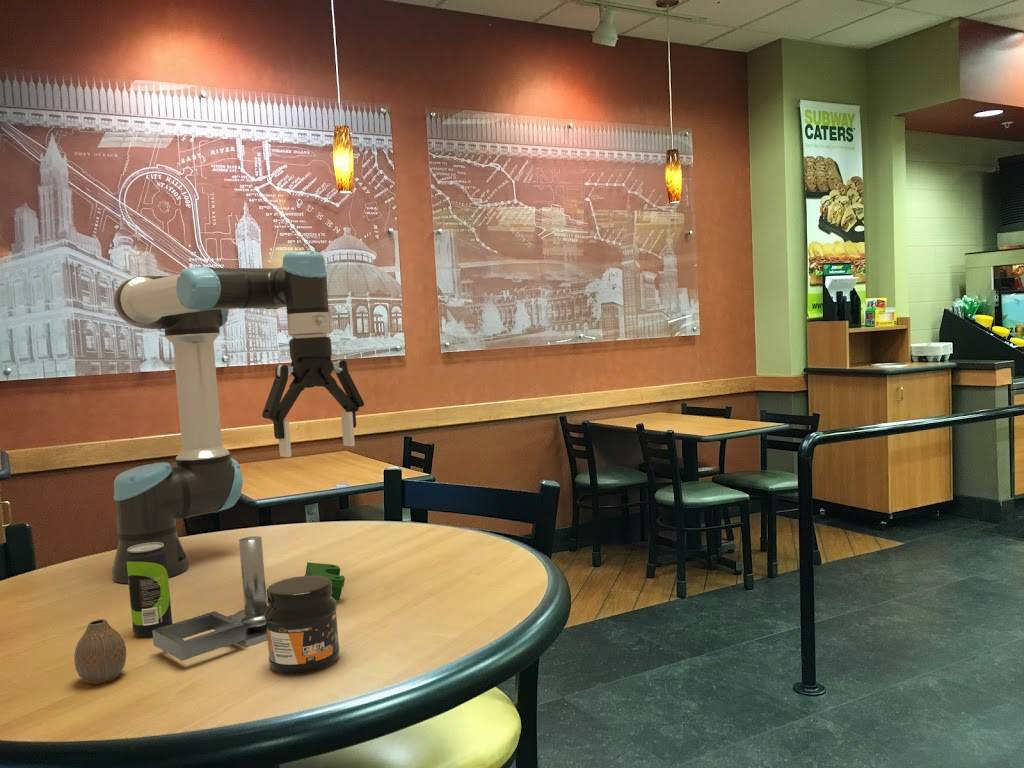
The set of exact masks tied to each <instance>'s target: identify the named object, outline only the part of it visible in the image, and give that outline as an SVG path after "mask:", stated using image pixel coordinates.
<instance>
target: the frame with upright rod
mask: <svg viewBox="0 0 1024 768" xmlns="http://www.w3.org/2000/svg"><path fill="white" fill-rule="evenodd" d="M238 542H239V543H238V544H239V555H240V566H241V567H240V569H241V579H242V580H241V583H242V593H243V594H242V595H243V605H244V609H242V610H239V611H237V612H235V613H234V614H230V615H227V616H226V615H224V614H222V613H220V612H217V611H210V612H208V613H204V614H201V615H198V616H193V617H191V618H187V619H183V620H180V621H177V622H174V623H172V624H171V625H167V626H164V627H161V628H157V629H154V630H152V632H153V637H152V642H153V646H154V647H156V648H158V649H159V650H161V651H164V653H167V654H169V655H170V656H173V657H174V658H176V659H178V660H180V661H181V662H182V661H185V660H188V659H192V658H194V657H197V656H201V655H204V654H207V653H210V652H213V651H215V650H219V649H221V648H224V647H227V646H230V645H233V644H235V643H238V644H240V645H242V646H244V647H245V648H248V647H250V646H253V645H256V644H258V643H261V642H265V641H268V638H267V626H266V619H265V610H266V608H267V607H268V603H267V593H266V591H267V589H266V577H265V567H264V564H265V563H264V552H263V551H264V550H263V539H262V537H261V536H258V535H257V536H256V535H255V536H245V537H242V538H240V539H239V540H238ZM212 630H213V631H212ZM208 631H211V632H208ZM205 632H207V633H205ZM201 633H204V634H201ZM198 634H201V635H198ZM196 635H198V636H196ZM193 636H195V637H193ZM189 637H191V638H189ZM187 638H188V639H187Z"/></svg>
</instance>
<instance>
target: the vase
mask: <svg viewBox="0 0 1024 768" xmlns="http://www.w3.org/2000/svg"><path fill="white" fill-rule="evenodd" d="M73 655H74V656H73V657H74V659H73V661H74V667H75V671H76V673H77V675H78V676H79V678H80V679H81V680H83V681H84V682H85V683H87V684H89V683H90V684H89V685H93V684H95V685H98V684H97V683H103V684H105V683H104V682H107V683H108V681H109V682H112V681H114V680H115V679H116V678H118V676H119V675H120V674H121V673H122V671H123V670H124V668H125V665H126V660H127V647H126V644H125V641H124V639H123V637H122V636H121V634H120V633H119V632H118V631H117V630H116V629H115V628H114V627H112V626H111V625H110V623H108V621H107V620H106V619H104V618H100V619H93V620H91V621H90V622H88V624H87V626H86V629H85V631H84V633H83V634H82V636H81V637H80V639H78V642H77V644H76V646H75V650H74V654H73ZM113 679H114V680H113ZM111 680H112V681H111Z"/></svg>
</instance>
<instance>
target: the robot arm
mask: <svg viewBox="0 0 1024 768" xmlns="http://www.w3.org/2000/svg"><path fill="white" fill-rule="evenodd" d="M327 275H328V271H326V263H325V257H324V254H322V253H320V252H318V251H309V250H307V251H306V250H305V251H291V252H287V253H285V254H284V255H283V257H282V266H281V267H273V268H272V267H271V268H269V267H268V268H267V267H265V268H264V267H263V268H260V267H259V268H258V267H234V268H231V267H207V266H195V267H186V268H184V269H182V270H181V271H180V273H179V274H174V275H143V276H142V275H141V276H136V277H133V278H130V279H127V280H125V281H123V282H122V283H121V284H120V285H119V286H118V287H117V289H116V290H115V293H114V297H113V306H114V308H115V310H116V311H115V312H116V313H117V315H118V316H119V317H120V318H121V320H123V321H124V322H125V323H127V324H129V325H130V326H134V327H137V328H139V329H140V328H141V329H146V330H147V329H148V330H164V338H166V340H168V342H170V343H171V344H172V347H173V359H174V370H175V380H176V381H175V383H176V394H177V403H178V406H177V407H178V415H179V426H180V427H179V429H180V439H181V440H180V441H181V451H179V453H178V454H177V456H175V463H176V465H175V467H174V466H173V467H172V465H171V464H170V463H169V462H165V461H163V462H162V461H161V462H155V463H151V464H149V463H148V464H144V465H140V466H136V467H133V468H130V469H126V470H125V471H123V472H121V473H119V474H117V476H115V479H114V481H113V496H112V497H113V500H114V506H115V517H116V528H117V537H118V545H117V548H116V552H115V555H114V556H115V557H114V560H113V565H112V568H111V569H112V573H111V574H112V580H113V582H116V583H118V584H119V583H121V584H129V581H128V570H127V559H126V556H127V554H128V551H127V549H128V548H129V547H132V546H135V545H138V544H143V543H151V542H160V543H163V544H164V546H163V547H164V548H165V549H166V558H167V569H168V579H169V578H172V577H174V576H177V575H180V574H183V573H184V572H185V571H187V570H188V569H189V560H188V559H189V558H188V555H187V553H186V551H185V549H184V547H183V544H182V542H181V540H180V538H179V536H178V532H177V530H178V529H177V521H178V520H181V519H182V520H183V519H187V518H191V517H196V516H197V517H198V516H200V515H206V514H211V513H213V514H215V513H219V512H220V511H223V510H228V509H230V508H232V507H233V506H235V505H236V504H237V502H238V500H239V499H240V496H241V494H242V491H243V473H242V469H241V468H240V467H241V465H240V464H239V462H238V461H237V460H236V459H235V458H232V457H231V453H230V451H229V450H228V449H227V448H225V447H224V446H223V440H222V428H221V427H222V426H221V414H220V406H219V405H220V403H219V394H218V393H219V392H218V380H217V368H216V357H215V345H214V342H215V341H216V340H217V338H218V337H219V336H220V335H221V332H220V328H221V327H223V326H225V324H226V323H227V321H228V316H229V311H230V310H231V309H233V310H234V309H240V310H241V309H243V310H244V309H263V310H278V309H280V308H281V309H282V308H286V318H287V334H288V336H289V337H291V338H290V339H289V341H288V345H289V357H290V360H291V365H289V366H288V365H286V364H283V365H282V364H278V365H276V366H275V369H274V371H275V373H274V375H275V376H274V381H273V382H272V386H271V389H270V391H269V394H268V397H267V399H266V402H265V405H264V408H263V410H262V413H261V417H262V418H263V419H268V420H270V421H272V422H273V425H272V426H273V433H274V434H273V436H274V438H275V440H278V448H279V457H282V458H283V457H284V458H291V457H292V445H291V435H290V432H291V431H290V430H291V429H290V421H289V420H285V418H286V417H287V416H288V414H289V413H290V411H291V409H292V407H293V406H294V404H295V402H296V401H297V399H298V398H299V396H300V395H301V394H302V393H301V392H302V391H305V388H306V389H307V388H310V389H311V388H314V387H323V388H325V389H326V390H327V391H328V393H329V394H330V395H331V396H332V397H333V399H335V400H336V402H337V403H338V404H339V405H340V406H341V407H342V409H343V410H344V411H341V412H340V414H341V415H340V416H341V417H340V420H341V429H342V430H341V431H342V442H343V443H342V445H343V446H344V447H345V446H346V447H355V445H356V443H355V442H356V441H355V432H354V431H355V430H354V428H356V427H357V414H356V413H357V412H358V411H359V410H360V409H359V408H363V407H364V406H365V403H364V402H365V401H364V400H363V398H362V396H361V393H359V392H360V391H359V390H358V388H357V386H356V384H355V383H354V380H353V378H352V376H351V375H350V373H349V369H348V362H347V361H346V360H344V359H343V360H335V361H334V362H333V361H332V354H333V348H332V338H331V336H330V337H329V336H328V335H329V334H330V333H331V327H330V326H331V325H330V314H329V313H330V312H329V293H328V281H327V280H328V278H327V277H328V276H327ZM333 372H334V373H335V374H336V377H337V379H338V381H339V382H340V385H341V387H342V388H341V387H340V386H339V384H338V383H337V380H336V379H335V378H334V376H333V375H331V374H332V373H333ZM291 375H292V376H293V379H292V380H291V382H290V385H289V386H288V387H289V388H288V389H287V390H286V393H285V394H284V392H285V388H286V386H287V383H288V381H289V377H290V376H291ZM283 394H284V395H283Z"/></svg>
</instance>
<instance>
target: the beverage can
mask: <svg viewBox="0 0 1024 768" xmlns="http://www.w3.org/2000/svg"><path fill="white" fill-rule="evenodd" d="M163 546H164V544H163V543H160V542H151V543H143V544H138V545H135V546H132V547H129V548H128V549H127V551H128V554H127V556H126V559H127V570H128V581H129V583H128V591H129V601H130V612H131V621H132V622H131V623H132V632H133V633H134V634H136V635H135V636H137V637H139V638H153V632H152V630H154V629H157V628H161V627H164V626H167V625H171V624H173V616H172V615H173V614H172V605H171V594H170V593H171V592H170V583H169V578H168V569H167V558H166V549H165V548H164V547H163Z"/></svg>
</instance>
